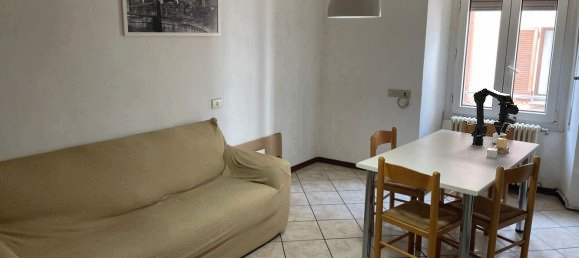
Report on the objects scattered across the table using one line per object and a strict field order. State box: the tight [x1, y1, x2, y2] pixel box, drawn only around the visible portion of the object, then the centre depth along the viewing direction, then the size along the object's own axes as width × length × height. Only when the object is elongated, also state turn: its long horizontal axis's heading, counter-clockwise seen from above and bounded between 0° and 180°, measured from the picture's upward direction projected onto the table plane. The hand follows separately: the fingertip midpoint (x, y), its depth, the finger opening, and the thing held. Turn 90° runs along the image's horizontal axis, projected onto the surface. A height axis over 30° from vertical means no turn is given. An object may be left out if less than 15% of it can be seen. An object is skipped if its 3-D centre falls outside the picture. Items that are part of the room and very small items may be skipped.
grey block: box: [486, 147, 498, 159], centre depth 313 cm, size 6×6×5 cm
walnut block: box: [491, 144, 510, 155], centre depth 325 cm, size 9×9×4 cm
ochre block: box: [495, 138, 508, 148], centre depth 323 cm, size 5×5×6 cm
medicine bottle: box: [491, 130, 508, 145], centre depth 350 cm, size 7×7×12 cm
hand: (501, 134), depth 323 cm, fingers open, 9 cm apart
